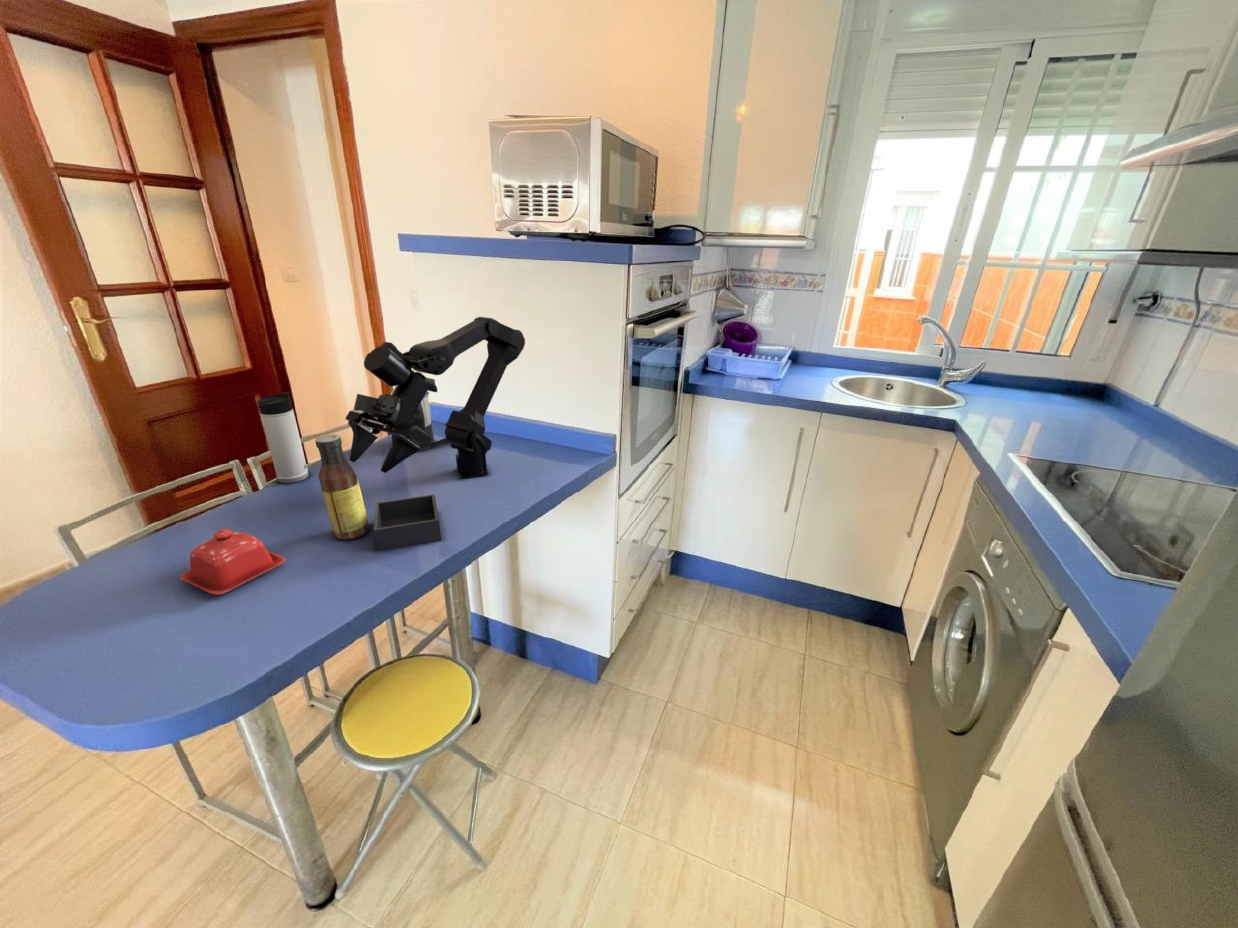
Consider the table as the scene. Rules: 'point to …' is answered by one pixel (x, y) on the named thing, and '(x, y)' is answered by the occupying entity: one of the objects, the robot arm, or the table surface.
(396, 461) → the robot arm
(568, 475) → the table surface
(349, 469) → the sauce bottle
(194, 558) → the butter dish
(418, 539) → the bin
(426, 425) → the milk frother
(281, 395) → the travel mug
